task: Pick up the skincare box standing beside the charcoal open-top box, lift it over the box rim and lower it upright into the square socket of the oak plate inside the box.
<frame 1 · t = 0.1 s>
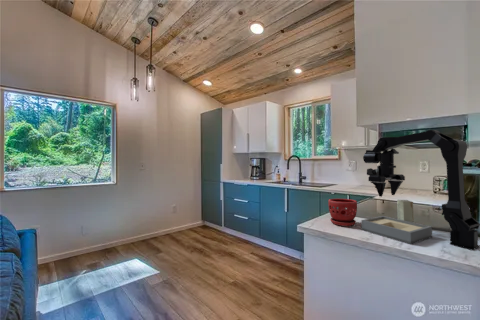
hand: (386, 195, 109), 15 cm above the worktop, tool pointing down, fingers open, 9 cm apart
skincare box: (405, 226, 109), on the worktop
plant pot: (342, 224, 114), on the worktop
socket box: (394, 233, 99), on the worktop
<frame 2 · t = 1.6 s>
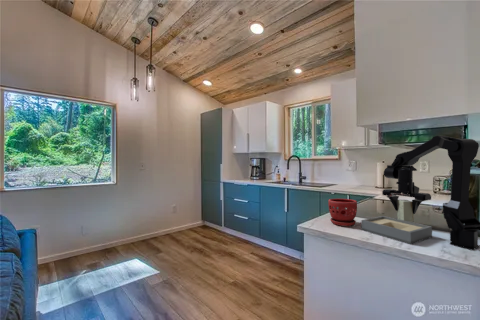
hand: (405, 212, 109), 7 cm above the worktop, tool pointing down, fingers closed on skincare box, 7 cm apart
skincare box: (405, 226, 109), on the worktop, touching gripper
everything else where it was.
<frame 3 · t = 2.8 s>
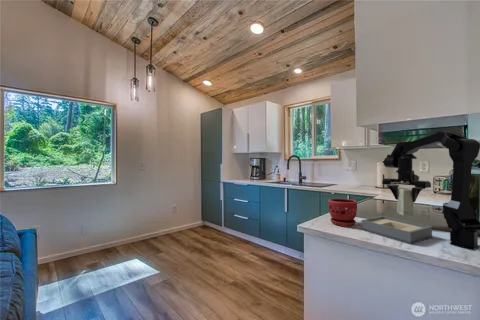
hand: (405, 200, 109), 12 cm above the worktop, tool pointing down, fingers closed on skincare box, 7 cm apart
skincare box: (404, 214, 110), point 5 cm above the worktop, touching gripper
everything else where it was.
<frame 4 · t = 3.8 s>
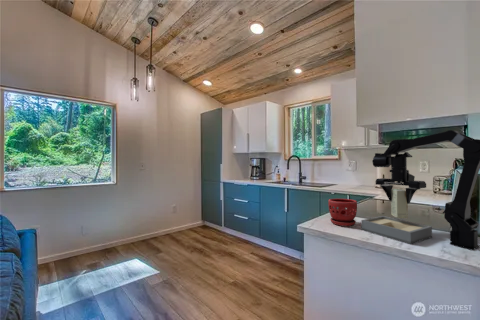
hand: (399, 202, 103), 13 cm above the worktop, tool pointing down, fingers closed on skincare box, 7 cm apart
skincare box: (399, 217, 103), point 6 cm above the worktop, touching gripper
everything else where it was.
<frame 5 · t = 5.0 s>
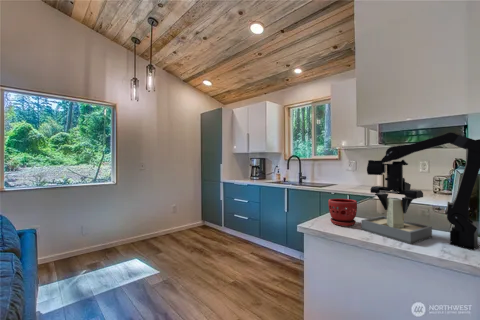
hand: (395, 211, 98), 10 cm above the worktop, tool pointing down, fingers closed on skincare box, 7 cm apart
skincare box: (394, 227, 99), point 3 cm above the worktop, touching gripper
everything else where it was.
when the fingers open (8 cm above the worktop, at t = 6.1 s): skincare box stays where it is, resting on socket box.
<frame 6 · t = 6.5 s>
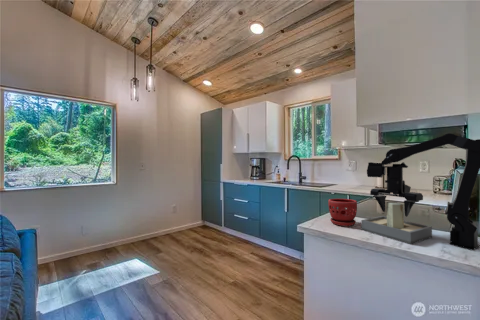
hand: (394, 214, 98), 8 cm above the worktop, tool pointing down, fingers open, 9 cm apart
skincare box: (394, 231, 99), point 1 cm above the worktop, touching socket box
everything else where it was.
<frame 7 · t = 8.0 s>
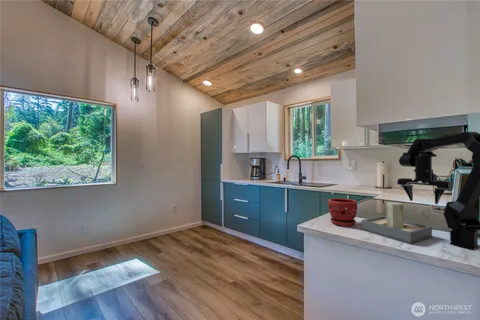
hand: (423, 202, 101), 13 cm above the worktop, tool pointing down, fingers open, 9 cm apart
nothing on the worktop moved.
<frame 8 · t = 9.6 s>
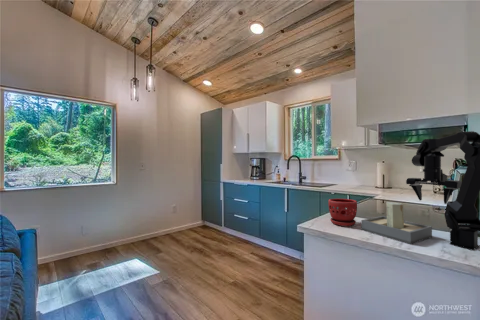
hand: (432, 202, 101), 13 cm above the worktop, tool pointing down, fingers open, 9 cm apart
nothing on the worktop moved.
at the end: skincare box 0.0 cm off-centre on the socket box, point 0.8 cm above the socket box's base; skincare box tilted 0°; the gripper is holding nothing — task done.
